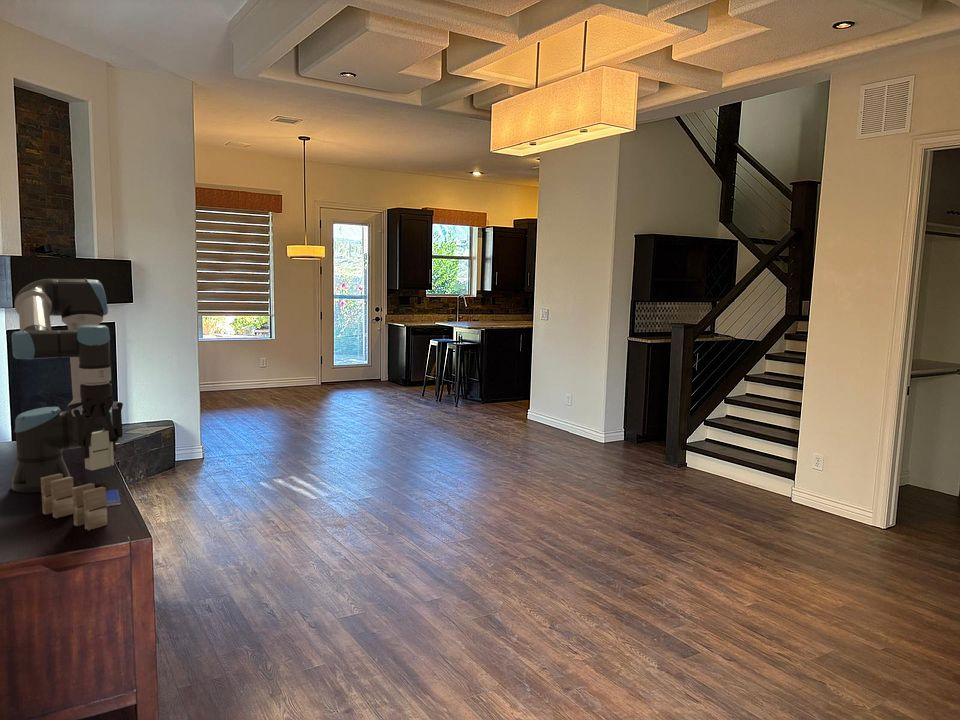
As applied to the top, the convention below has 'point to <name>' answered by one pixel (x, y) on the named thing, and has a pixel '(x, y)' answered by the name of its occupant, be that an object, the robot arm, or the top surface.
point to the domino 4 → (100, 449)
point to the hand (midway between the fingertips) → (99, 466)
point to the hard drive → (112, 498)
